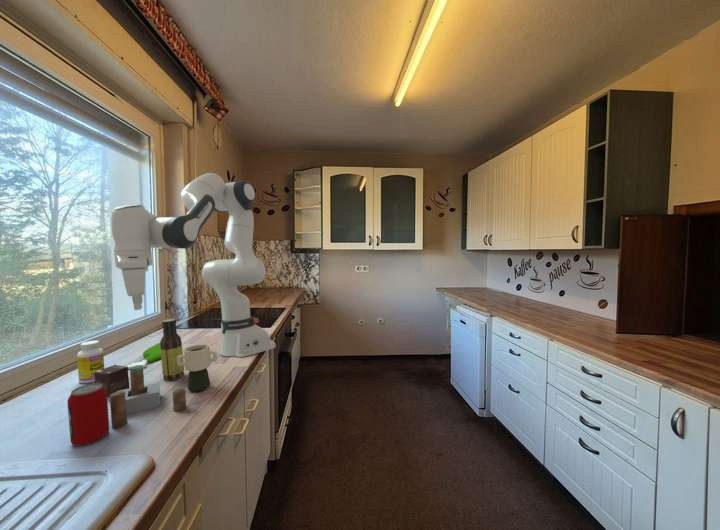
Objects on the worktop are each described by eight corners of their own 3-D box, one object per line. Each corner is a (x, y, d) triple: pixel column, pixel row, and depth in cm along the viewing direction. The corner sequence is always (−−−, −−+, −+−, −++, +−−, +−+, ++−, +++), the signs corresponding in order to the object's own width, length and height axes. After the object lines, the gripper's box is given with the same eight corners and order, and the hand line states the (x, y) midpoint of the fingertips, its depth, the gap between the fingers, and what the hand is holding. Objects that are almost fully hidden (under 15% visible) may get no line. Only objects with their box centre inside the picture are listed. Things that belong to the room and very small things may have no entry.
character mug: (219, 380, 100) (217, 341, 100) (217, 389, 94) (215, 348, 93) (181, 386, 96) (178, 346, 96) (176, 397, 90) (174, 353, 89)
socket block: (159, 394, 91) (159, 381, 91) (160, 406, 85) (159, 392, 85) (117, 404, 86) (116, 391, 86) (114, 417, 79) (113, 402, 79)
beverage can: (87, 430, 74) (83, 382, 73) (116, 428, 74) (113, 381, 74) (62, 449, 67) (57, 396, 66) (95, 447, 68) (91, 394, 67)
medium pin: (127, 420, 78) (125, 389, 78) (126, 425, 76) (124, 394, 75) (112, 424, 76) (110, 393, 76) (111, 430, 74) (108, 398, 73)
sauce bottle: (188, 373, 107) (184, 317, 106) (178, 381, 101) (174, 321, 99) (169, 374, 107) (166, 318, 105) (158, 382, 100) (154, 322, 99)
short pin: (185, 404, 85) (184, 387, 85) (186, 409, 83) (185, 391, 82) (173, 408, 84) (172, 390, 83) (173, 413, 81) (172, 394, 81)
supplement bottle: (89, 384, 99) (86, 346, 99) (73, 383, 101) (70, 345, 100) (110, 376, 106) (107, 340, 105) (94, 375, 107) (92, 339, 107)
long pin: (145, 401, 88) (143, 364, 87) (145, 406, 85) (142, 367, 84) (132, 404, 86) (130, 366, 85) (131, 409, 83) (129, 370, 83)
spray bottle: (182, 347, 137) (150, 370, 112) (156, 349, 135) (118, 372, 111) (181, 341, 136) (149, 362, 112) (155, 342, 135) (118, 364, 111)
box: (130, 389, 96) (128, 366, 95) (109, 398, 90) (107, 374, 90) (116, 386, 98) (115, 364, 97) (95, 395, 92) (93, 371, 92)
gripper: (123, 259, 96) (127, 302, 98) (117, 263, 80) (122, 315, 81) (147, 257, 100) (151, 299, 101) (147, 261, 83) (151, 311, 84)
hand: (138, 306), depth 91 cm, fingers open, 8 cm apart
